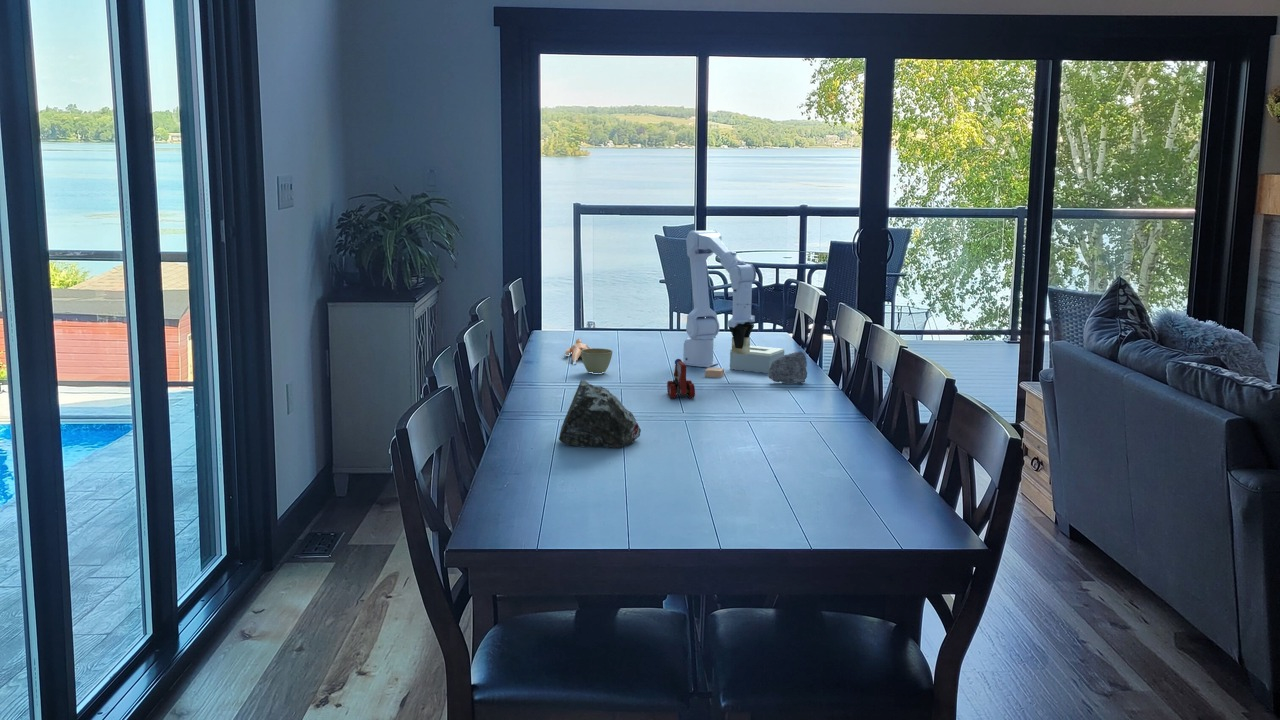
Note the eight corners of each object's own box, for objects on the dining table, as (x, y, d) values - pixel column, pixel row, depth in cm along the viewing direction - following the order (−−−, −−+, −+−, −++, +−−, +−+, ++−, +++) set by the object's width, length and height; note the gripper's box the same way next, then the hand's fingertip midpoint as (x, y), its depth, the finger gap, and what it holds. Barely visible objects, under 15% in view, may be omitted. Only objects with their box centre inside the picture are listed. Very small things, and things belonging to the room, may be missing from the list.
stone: (594, 469, 245) (619, 411, 241) (534, 431, 252) (558, 373, 248) (635, 460, 261) (659, 405, 257) (577, 423, 268) (600, 369, 265)
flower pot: (575, 374, 339) (575, 352, 338) (588, 369, 349) (588, 347, 347) (604, 377, 336) (604, 354, 334) (617, 371, 345) (617, 349, 344)
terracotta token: (705, 377, 338) (705, 370, 337) (708, 374, 342) (708, 367, 342) (720, 378, 336) (721, 371, 336) (723, 375, 341) (723, 368, 341)
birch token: (731, 353, 336) (731, 337, 335) (735, 352, 338) (735, 336, 337) (746, 354, 333) (746, 338, 332) (749, 353, 335) (749, 337, 334)
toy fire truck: (689, 391, 316) (689, 356, 314) (695, 400, 304) (696, 364, 302) (665, 391, 315) (666, 356, 313) (671, 401, 303) (671, 364, 301)
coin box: (729, 369, 350) (730, 349, 349) (745, 363, 359) (745, 344, 358) (769, 373, 343) (769, 353, 342) (783, 368, 352) (784, 348, 351)
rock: (806, 381, 331) (807, 349, 329) (808, 385, 326) (809, 352, 324) (767, 381, 332) (768, 348, 330) (768, 384, 326) (769, 351, 324)
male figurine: (567, 355, 355) (563, 337, 379) (567, 370, 356) (563, 351, 380) (600, 355, 356) (593, 337, 380) (600, 370, 358) (593, 350, 382)
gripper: (743, 307, 325) (742, 352, 327) (764, 302, 337) (762, 345, 339) (722, 305, 328) (721, 349, 331) (743, 300, 340) (742, 343, 343)
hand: (740, 347), depth 335 cm, fingers closed on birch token, 2 cm apart
